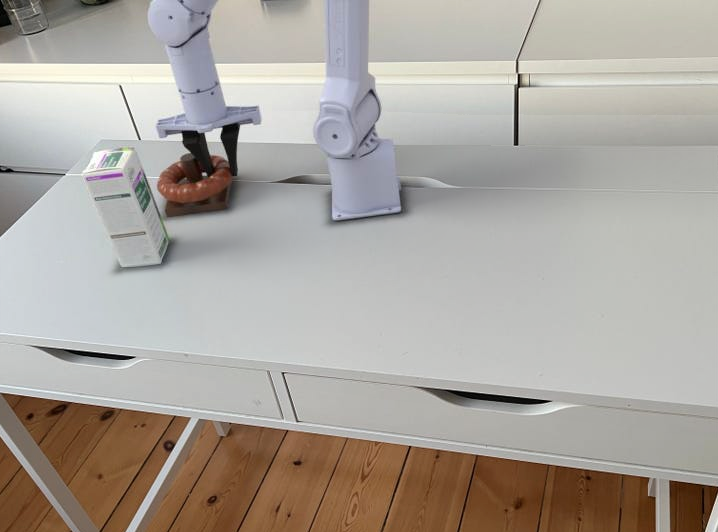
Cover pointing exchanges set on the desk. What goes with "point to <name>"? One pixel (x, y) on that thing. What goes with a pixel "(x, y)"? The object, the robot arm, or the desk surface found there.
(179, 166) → the ring
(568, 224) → the desk surface
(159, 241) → the syrup box
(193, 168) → the post
